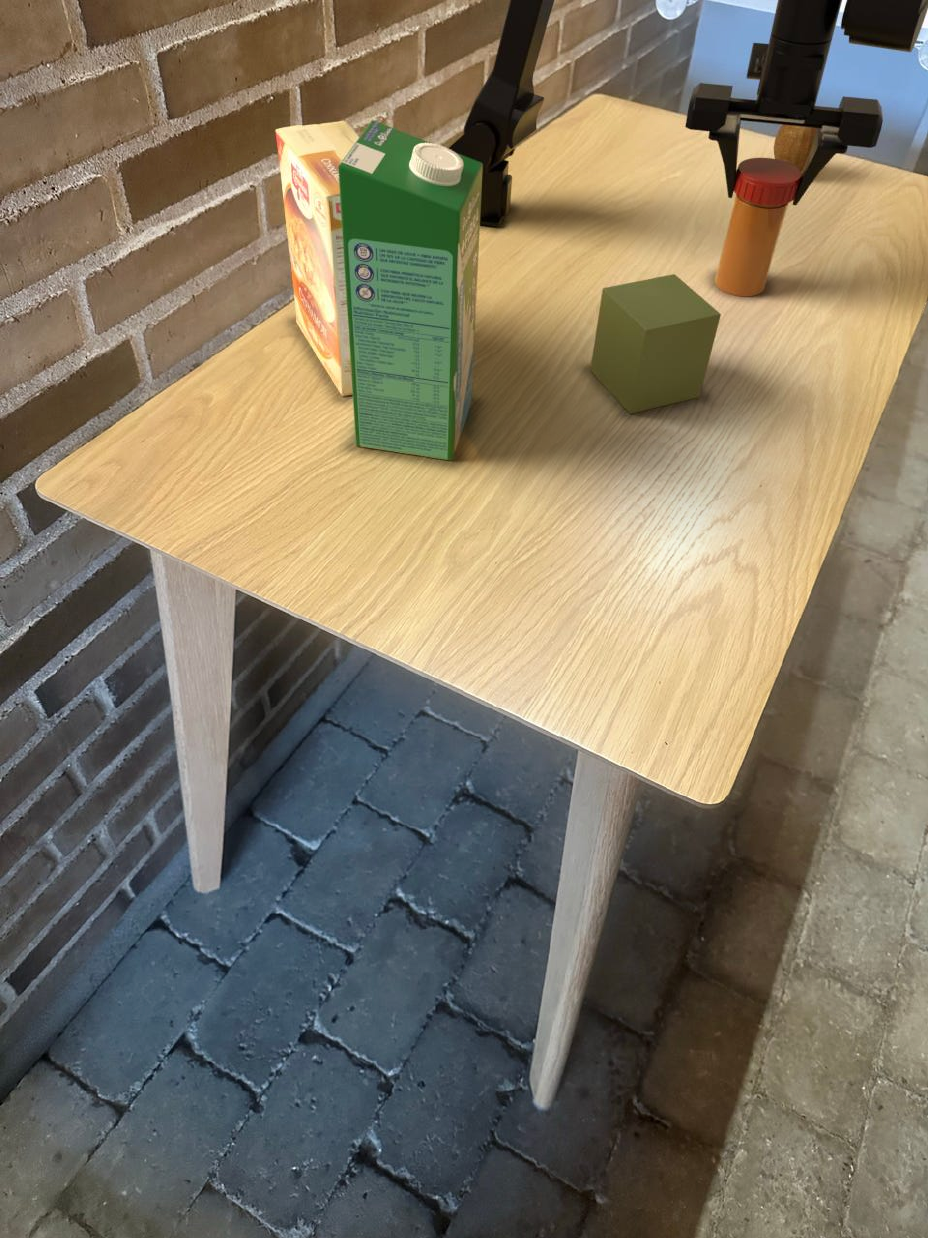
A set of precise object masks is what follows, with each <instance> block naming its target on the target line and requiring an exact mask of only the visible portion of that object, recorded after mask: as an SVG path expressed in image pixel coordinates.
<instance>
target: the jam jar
mask: <svg viewBox="0 0 928 1238" xmlns="http://www.w3.org/2000/svg"><path fill="white" fill-rule="evenodd" d="M788 206H789V203H787V204H783V205H775V206H772V205H761V204H756V203H752V202H749V201H746V200H744V199H742V198H740V197H739V196H738V195H736V194H735V198H734V202H733V205H732V209H731V213H730V217H729V222H728V225H727V230H726V233H725V237H724V242H723V246H722V250H721V254H720V257H719V262H718V266H717V270H716V275H715V278H714V284H715V286H716V287H717V288H718V289H719V290H721V291H722V292H724V293H727V294H729V295H731V296H736V297H753V296H754V297H755V296H757V295H759V294H761V293H763V291H764V290H765V286H766V283H767V279H768V276H769V272H770V269H771V265H772V262H773V258H774V255H775V252H776V251H775V250H776V247H777V244H778V241H779V238H780V234H781V231H782V228H783V224H784V220H785V217H786V213H787V211H788V210H787V209H788Z"/></svg>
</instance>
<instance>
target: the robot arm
mask: <svg viewBox="0 0 928 1238" xmlns="http://www.w3.org/2000/svg"><path fill="white" fill-rule="evenodd" d="M554 3H555V0H509V3H508V7H507V10H506V11H507V12H506V14H505V18H504V22H503V27H502V31H501V35H500V39H499V43H498V47H497V51H496V56H495V60H494V63H493V67H492V70H491V72H490V74H489V76H488V78H487V79H486V81H485V83H484V84H483V86H482V88H481V90H480V91H479V93H478V95H476V97H475V99H474V102H473V104H472V105H471V108H470V111H469V114H468V116H467V118H466V120H465V123H464V126H463V134H462V135H461V136H460V137H459V138H458V139H457V140H455V141H454V142H453V143H452V144H451V145H450V146H448V148H449V149H450V150H452V151H454V152H455V153H458V154H460V155H463V156H466V157H468V158H471V159H473V160H476V161H478V162H481V163H482V164H483V169H482V190H481V211H480V226H481V225H482V226H489V227H500V224H501V223H502V220H503V219H504V217H506V216H507V214H508V213H509V211H510V209H511V202H512V201H511V199H512V185H513V176H512V175H511V174H509V165H510V163H509V162H510V161H509V160H507V159H508V158H509V157H512V156H513V155H514V154H515V151H516V149H517V147H518V146H520V145H521V144H522V143H524V142H525V141H526V140H527V139H528V137H530V136H531V135H532V134H534V133H535V132H536V131H537V120H538V115H539V112H540V111H541V109H542V107H543V104H544V102H545V97H544V96H542V95H539V94H535V89H534V81H533V80H534V73H535V69H536V66H537V63H538V59H539V55H540V52H541V48H542V45H543V41H544V38H545V34H546V31H547V28H548V24H549V20H550V17H551V13H552V9H553V6H554ZM842 3H843V0H777V3H776V8H775V14H774V17H773V21H772V26H771V32H770V36H769V41H768V43H764V42H763V43H761V42H752V47H751V51H750V52H751V53H750V55H749V56H750V57H749V62H748V66H747V71H746V75H745V76H746V79H747V80H756V81H758V80H759V81H758V87H757V92H756V99H748V98H738V97H737V98H736V97H732V91H733V87H734V86H733V85H727V84H726V85H725V84H714V83H703V82H700V83H698V84H697V85H696V86H695V87H693V89H692V92H691V96H690V99H689V103H688V109H687V112H686V113H687V114H686V119H685V126H684V128H686V129H689V130H691V131H701V132H708V136H707V138H708V139H709V140H710V141H715V142H717V144H718V149H719V152H720V155H721V159H722V162H723V167H724V174H725V183H726V190H727V197H728V198H729V199H733V195H734V187H735V177H736V171H737V169H738V156H739V146H740V145H739V144H740V135H741V134H740V132H741V124H742V121H743V122H752V123H753V122H754V123H762V124H772V125H781V126H782V125H792V126H802V127H812V128H817V131H816V134H815V137H814V141H813V144H812V147H811V150H810V152H809V155H808V158H807V160H806V163H805V165H804V168H803V171H802V172H801V179H800V183H799V186H798V188H797V191H796V195H795V198H794V200H793V201H792V206H797V205H798V204H799V202H800V201H801V199H802V198H803V196H804V195H805V194H806V192H807V190H808V189H809V188H810V186H811V185H812V183H813V182H814V180H815V179H816V177H817V176H818V175H819V173H821V171H822V170H823V169H824V168H825V167H826V166H827V165H828V163H829V162H830V161H831V160H832V159H833V158H834V157H835V155H837V154H839V155H843V154H846V153H847V152H848V148H849V147H857V148H867V149H872V148H875V147H877V144H878V140H879V138H880V133H881V131H882V126H883V122H884V119H883V118H884V117H883V108H882V106H881V104H880V102H879V100H878V99H875V98H865V97H854V96H842V97H841V99H840V102H839V106H838V107H831V106H822V105H816V104H817V101H818V100H817V99H818V97H819V96H818V95H819V93H820V88H821V84H822V80H823V77H824V72H825V68H826V64H827V61H828V57H829V53H830V50H831V49H830V48H831V45H832V41H833V37H834V34H835V30H836V26H837V22H838V18H839V14H840V10H841V7H842ZM927 12H928V0H846V1H845V5H844V8H843V12H842V17H841V22H840V29H841V30H844V32H843V36H847V37H848V44H852V45H859V46H865V47H866V46H867V47H871V48H879V49H885V50H891V51H892V50H893V51H899V52H905V53H912V52H913V50H914V47H915V46H916V43H917V41H918V39H919V35H920V33H921V30H922V28H923V25H924V22H925V19H926V15H927Z"/></svg>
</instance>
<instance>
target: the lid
mask: <svg viewBox="0 0 928 1238" xmlns="http://www.w3.org/2000/svg"><path fill="white" fill-rule="evenodd" d="M801 173H802V172H801V171H800V170H799V169H798V168H797V167H796V166H794V165H792V164H790V163H788V162H785V161H782V160H777V159H775V158H771V157H752V158H751V157H750V158H747V159H744V160H742V161H741V162H739V164H737V170H736V177H735V187H734V191H733V193H734V194H735V196H736V195H738V196H739V197H740V198H742V199H744V200H746V201H749V202H752V203H756V204H761V205H772V206H775V205H783V204H787V203H788V204H789V203H791V202H793V200H794V198H795V195H796V191H797V188H798V186H799V183H800V179H801Z"/></svg>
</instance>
